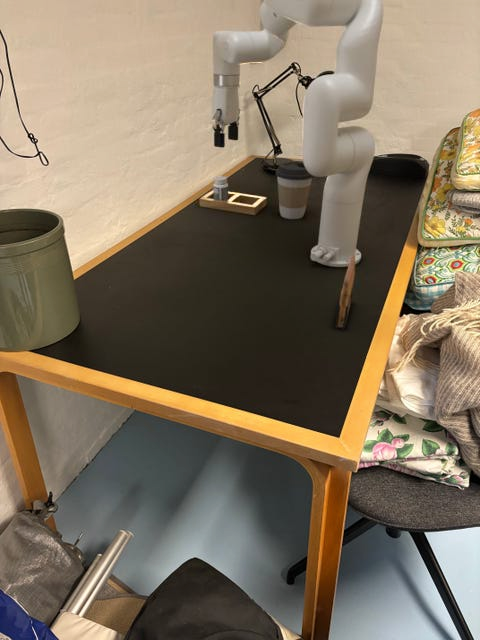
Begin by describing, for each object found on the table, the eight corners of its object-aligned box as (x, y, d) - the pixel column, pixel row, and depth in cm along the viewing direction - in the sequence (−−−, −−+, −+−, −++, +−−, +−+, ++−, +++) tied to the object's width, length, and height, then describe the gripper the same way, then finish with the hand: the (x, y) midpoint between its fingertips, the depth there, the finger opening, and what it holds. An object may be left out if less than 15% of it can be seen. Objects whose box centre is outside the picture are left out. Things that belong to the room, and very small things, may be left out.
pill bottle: (228, 201, 163) (228, 175, 158) (228, 206, 159) (228, 179, 154) (213, 201, 163) (213, 175, 158) (213, 206, 159) (213, 179, 154)
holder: (254, 215, 152) (254, 207, 151) (199, 206, 159) (199, 198, 157) (266, 204, 160) (266, 197, 159) (213, 196, 167) (213, 189, 165)
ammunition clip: (342, 301, 109) (349, 251, 102) (351, 303, 108) (358, 252, 102) (335, 327, 100) (342, 274, 94) (344, 329, 100) (352, 275, 93)
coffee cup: (317, 219, 150) (322, 168, 142) (283, 223, 147) (286, 172, 139) (299, 206, 159) (303, 158, 151) (267, 211, 156) (269, 162, 148)
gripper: (227, 76, 149) (227, 135, 159) (200, 83, 136) (202, 148, 145) (250, 78, 147) (248, 138, 156) (225, 86, 134) (225, 151, 143)
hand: (226, 143), depth 151 cm, fingers open, 9 cm apart
